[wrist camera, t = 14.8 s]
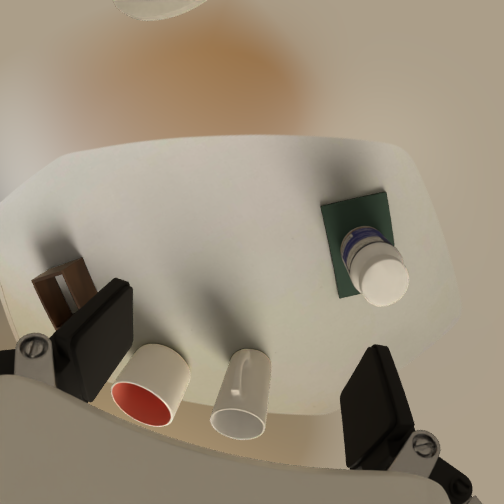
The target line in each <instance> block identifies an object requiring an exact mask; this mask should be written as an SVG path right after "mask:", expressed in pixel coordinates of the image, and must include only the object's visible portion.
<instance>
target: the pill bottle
mask: <svg viewBox="0 0 504 504" xmlns="http://www.w3.org/2000/svg"><path fill="white" fill-rule="evenodd" d="M341 257H342V260H343V262H344V265H345V267H346V269H347V271H348V274H349V276H350V279H351V281H352V283H353V285H354V286H355V288H356V289H357V290H358V291H359V292H360V293H362V294H363V296H364V297H365V299H366V300H367V301H368V302H369V303H371V304H373V305H375V306H388V305H391V304H393V303H395V302H397V301H398V300H399V299H400V298H401V297H402V296H403V295H404V293H405V292H406V290H407V287H408V284H409V274H408V271H407V269H406V267H405V266H404V262H403V258H402V256H401V254H400V253H399V251H398V250H397V249H396V248H395V247H394V246H393V245H392V244H391V243H390V242H389V241H388V240H387V239H386V238H385V237H384V236H383V235H382V234H381V233H380V232H379V231H378V230H377V229H375V228H373V227H369V226H361V227H357V228H355V229H353V230H351V231H350V232H349V233H348V234H347V235H346V236H345V238H344V239H343V241H342V244H341Z"/></svg>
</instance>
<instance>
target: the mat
mask: <svg viewBox="0 0 504 504" xmlns="http://www.w3.org/2000/svg"><path fill="white" fill-rule="evenodd" d="M321 211H322V215H323V219H324V224H325V228H326V233H327V237H328V242H329V247H330V252H331V256H332V261H333V267H334V272H335V277H336V282H337V288H338V293H339V298H344V297H348V296H353V295H357V294H361V293H360V292H359V291H358V290H357V289H356V288H355V286H354V285H353V283H352V281H351V279H350V276H349V274H348V271H347V269H346V267H345V265H344V262H343V260H342V257H341V244H342V241H343V239H344V238H345V236H346V235H347V234H348V233H349V232H350V231H351V230H353V229H355V228H357V227H361V226H369V227H373V228H375V229H377V230H378V231H379V232H380V233H381V234H382V235H383V236H384V237H385V238H386V239H387V240H388V241H389V242H390V243H391V244H392V245H393V246H394V239H393V231H392V224H391V217H390V211H389V205H388V199H387V193H386V192H381V193H376V194H371V195H367V196H362V197H358V198H353V199H349V200H345V201H340V202H336V203H331V204H327V205H323V206H321Z"/></svg>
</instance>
